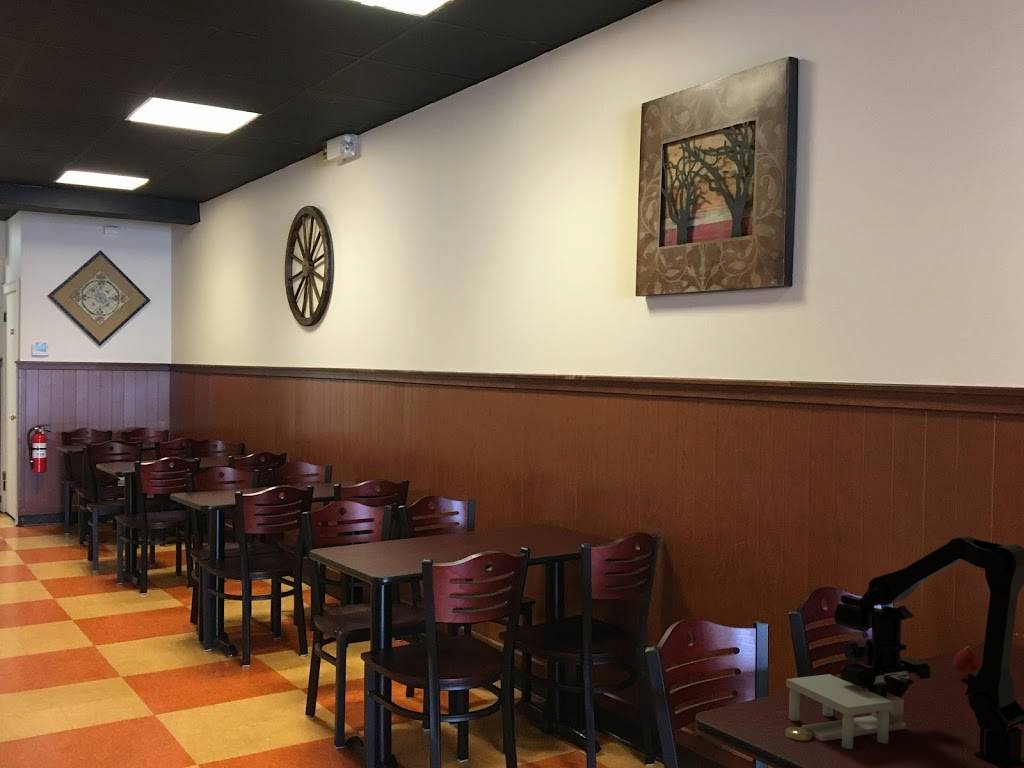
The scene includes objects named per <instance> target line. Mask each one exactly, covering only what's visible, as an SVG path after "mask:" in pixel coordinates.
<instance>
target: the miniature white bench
mask: <svg viewBox="0 0 1024 768" xmlns="http://www.w3.org/2000/svg"><path fill="white" fill-rule="evenodd" d="M785 685H786V687H787V688H789V701H788V706H789V708H788V720H789V719H790V720H789V721H792V722H799V721H800V703H801V702H800V699H801V698H800V697H801V694H802V695H804V696H806V697H807V698H810V699H812V700H814V701H815V702H818V703H821V704H822V715H823V716H825V717H833V715H834V713H833V712H834V710H836V711H837V712H839V713H842V720H843V723H842V738H841V748H843V749H848V750H851V749H853V748H854V736H853V729H854V718H855V715H862V714H869V713H872V712H877V711H878V729H877V733H876V736H877V737H876V741H877V742H878V743H880V744H888V743H889V732H890V731H889V710H891V709H893V701H891V700H889V699H886V698H884V697H882V696H879V695H877V694H875V693H872V692H870V691H869V690H868V689H865V688H864V687H862V688H861V687H858V686H856V685H855V684H853V683H850V682H848V681H844V680H842V679H841V678H839V677H837V676H834V675H832V674H830V673H828V674H820V675H812V676H811V675H810V676H802V677H801V676H800V677H793V678H786V684H785Z"/></svg>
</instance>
